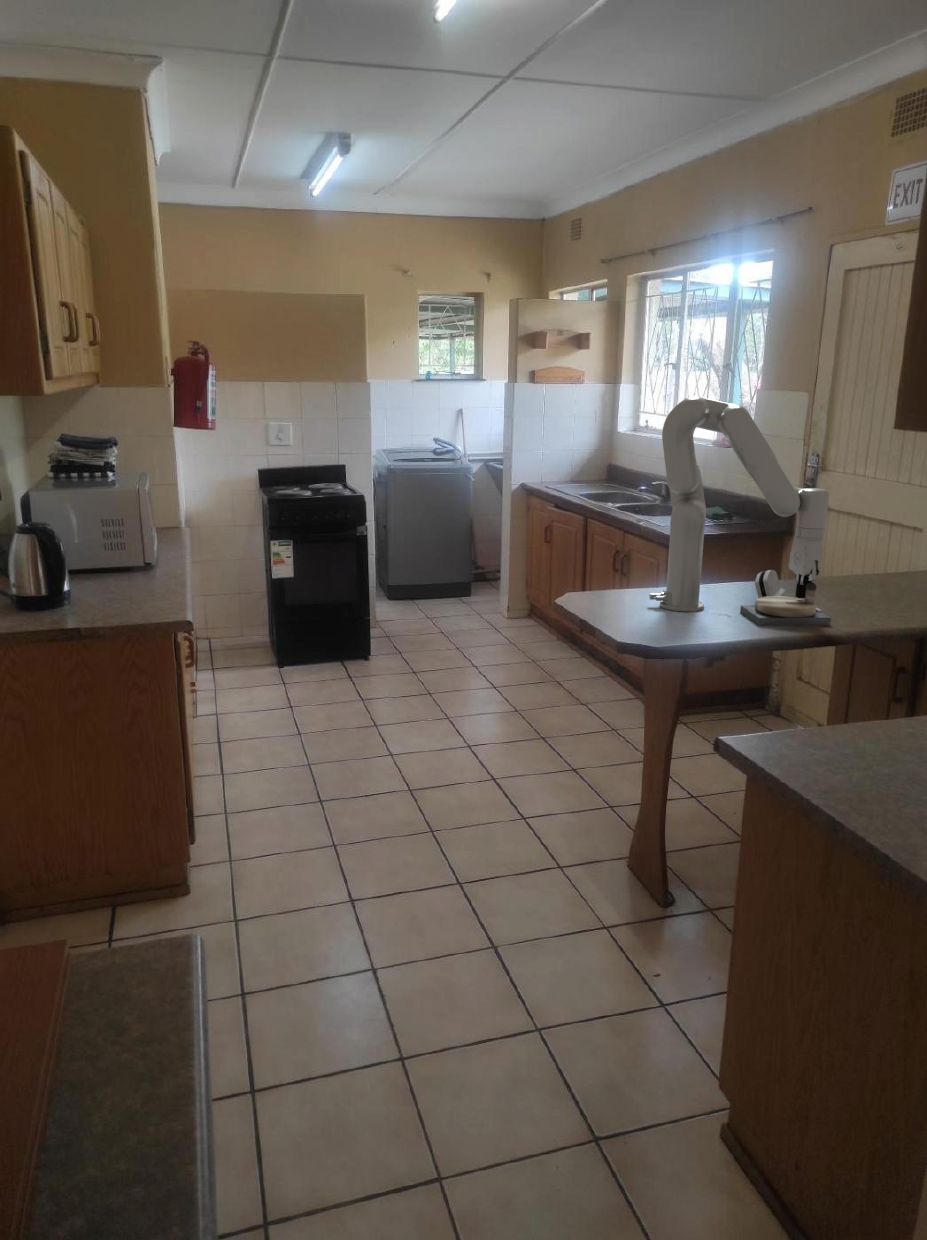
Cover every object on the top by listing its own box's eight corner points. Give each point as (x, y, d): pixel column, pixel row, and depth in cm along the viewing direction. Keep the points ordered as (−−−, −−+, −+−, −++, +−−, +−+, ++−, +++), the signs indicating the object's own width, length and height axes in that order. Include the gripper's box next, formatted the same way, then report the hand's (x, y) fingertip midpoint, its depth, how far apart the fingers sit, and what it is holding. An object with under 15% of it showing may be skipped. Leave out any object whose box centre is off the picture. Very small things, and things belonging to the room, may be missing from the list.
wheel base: (758, 625, 238) (759, 615, 237) (740, 612, 251) (740, 603, 250) (830, 625, 239) (831, 615, 238) (808, 612, 252) (809, 602, 251)
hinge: (777, 606, 258) (768, 574, 257) (761, 610, 260) (752, 578, 259) (786, 595, 272) (778, 564, 271) (771, 598, 275) (763, 568, 274)
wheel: (748, 602, 252) (750, 575, 250) (804, 603, 252) (807, 576, 249) (764, 616, 237) (767, 588, 235) (824, 617, 236) (827, 589, 234)
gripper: (784, 528, 249) (777, 591, 254) (810, 538, 235) (802, 604, 239) (809, 528, 250) (801, 591, 255) (836, 538, 235) (828, 603, 240)
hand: (801, 597), depth 247 cm, fingers closed
